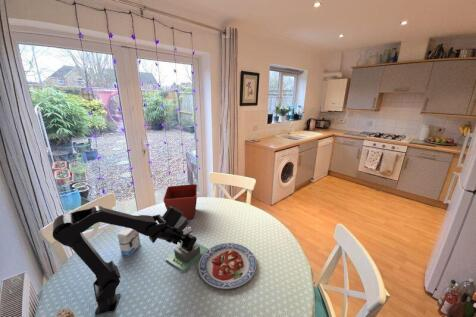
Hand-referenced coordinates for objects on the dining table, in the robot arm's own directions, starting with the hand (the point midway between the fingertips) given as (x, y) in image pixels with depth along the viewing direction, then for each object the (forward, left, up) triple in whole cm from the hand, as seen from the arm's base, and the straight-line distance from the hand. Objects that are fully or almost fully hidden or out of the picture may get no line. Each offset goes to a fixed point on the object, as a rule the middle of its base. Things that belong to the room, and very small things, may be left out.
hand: (188, 240), depth 98 cm
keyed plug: (-1, +1, -7) cm, 7 cm away
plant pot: (+36, +5, -8) cm, 37 cm away
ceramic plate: (-11, -17, -8) cm, 22 cm away
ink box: (+9, +29, -8) cm, 31 cm away
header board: (-1, +1, -8) cm, 8 cm away
